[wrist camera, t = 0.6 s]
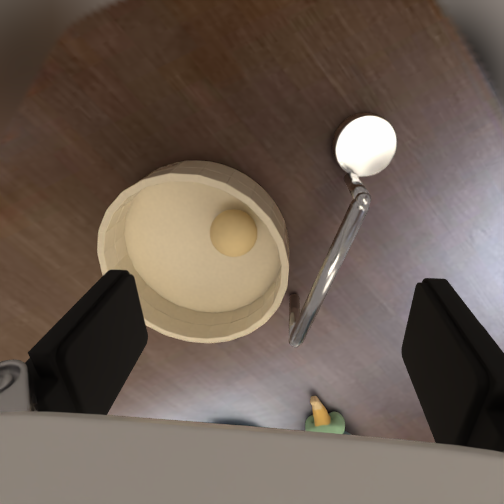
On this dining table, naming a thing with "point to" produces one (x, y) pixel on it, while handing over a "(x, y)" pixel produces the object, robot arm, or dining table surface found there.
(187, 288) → the bowl
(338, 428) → the multicolor toy piece
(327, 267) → the ladle
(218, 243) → the tan ball
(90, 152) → the dining table surface
